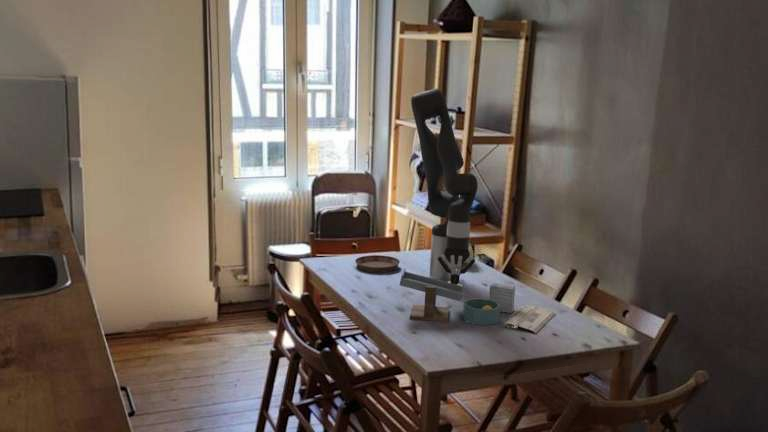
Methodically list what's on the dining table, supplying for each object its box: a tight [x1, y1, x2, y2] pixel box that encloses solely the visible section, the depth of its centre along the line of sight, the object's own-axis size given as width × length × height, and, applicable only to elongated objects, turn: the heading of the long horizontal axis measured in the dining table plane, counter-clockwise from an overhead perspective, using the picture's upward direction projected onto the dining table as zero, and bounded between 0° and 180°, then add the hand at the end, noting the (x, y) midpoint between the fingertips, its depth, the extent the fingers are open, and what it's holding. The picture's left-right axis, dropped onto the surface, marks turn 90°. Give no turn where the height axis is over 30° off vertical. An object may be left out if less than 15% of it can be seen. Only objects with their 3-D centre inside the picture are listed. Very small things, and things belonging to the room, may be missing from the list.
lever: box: [399, 267, 464, 302], centre depth 231 cm, size 15×20×5 cm
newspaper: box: [503, 304, 557, 334], centre depth 229 cm, size 23×12×2 cm, turn 151°
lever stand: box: [409, 276, 450, 323], centre depth 229 cm, size 11×12×11 cm
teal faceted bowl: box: [462, 297, 501, 326], centre depth 228 cm, size 11×12×5 cm
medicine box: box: [488, 282, 516, 314], centre depth 236 cm, size 8×4×9 cm, turn 71°
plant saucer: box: [354, 254, 400, 273], centre depth 281 cm, size 18×18×3 cm
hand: (454, 284), depth 235 cm, fingers closed
